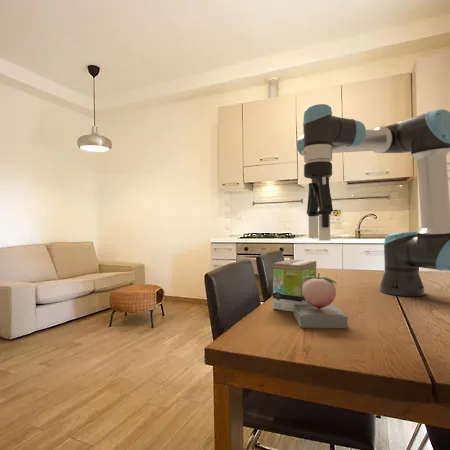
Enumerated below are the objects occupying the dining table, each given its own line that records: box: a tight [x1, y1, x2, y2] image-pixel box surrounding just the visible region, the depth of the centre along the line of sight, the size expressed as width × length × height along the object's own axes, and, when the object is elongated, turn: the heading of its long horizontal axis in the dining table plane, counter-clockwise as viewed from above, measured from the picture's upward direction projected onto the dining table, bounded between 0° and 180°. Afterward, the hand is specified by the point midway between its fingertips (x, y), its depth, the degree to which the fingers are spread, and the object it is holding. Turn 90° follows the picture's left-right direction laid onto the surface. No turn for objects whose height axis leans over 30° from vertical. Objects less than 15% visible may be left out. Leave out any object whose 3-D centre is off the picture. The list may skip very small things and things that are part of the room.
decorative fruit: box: [302, 273, 338, 309], centre depth 88 cm, size 9×8×10 cm
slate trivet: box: [293, 304, 349, 329], centre depth 88 cm, size 12×12×3 cm
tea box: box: [272, 259, 317, 313], centre depth 104 cm, size 15×10×15 cm
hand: (318, 239), depth 88 cm, fingers open, 13 cm apart
